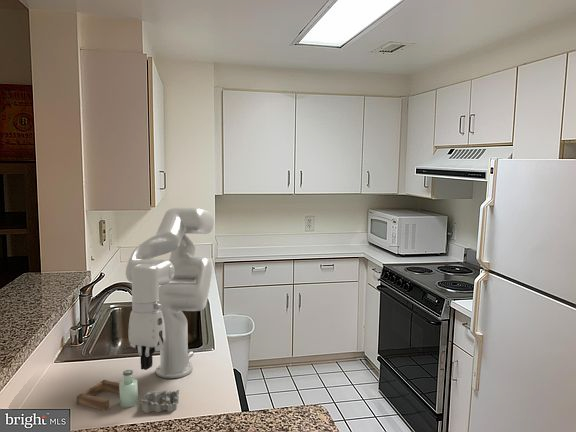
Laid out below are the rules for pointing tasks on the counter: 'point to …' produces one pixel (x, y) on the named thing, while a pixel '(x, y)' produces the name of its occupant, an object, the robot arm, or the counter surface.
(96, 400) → the rest
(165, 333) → the robot arm
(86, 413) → the counter surface
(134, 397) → the bottle
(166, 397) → the egg carton
